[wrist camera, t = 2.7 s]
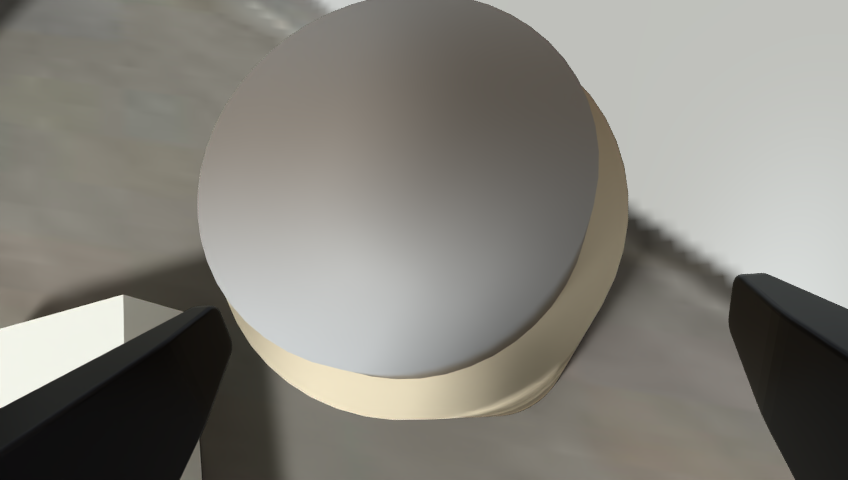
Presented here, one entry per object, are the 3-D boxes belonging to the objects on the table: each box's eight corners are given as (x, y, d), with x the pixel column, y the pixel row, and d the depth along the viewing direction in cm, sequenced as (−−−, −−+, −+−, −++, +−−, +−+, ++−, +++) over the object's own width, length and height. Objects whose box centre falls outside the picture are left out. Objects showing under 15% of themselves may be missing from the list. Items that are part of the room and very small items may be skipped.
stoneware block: (208, 591, 17) (129, 635, 13) (-39, 641, 18) (-169, 694, 14) (191, 313, 20) (123, 294, 16) (-18, 370, 21) (-122, 362, 17)
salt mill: (587, 397, 16) (738, 345, 4) (436, 431, 17) (171, 476, 5) (543, 251, 18) (554, -94, 6) (406, 287, 18) (155, 42, 6)
